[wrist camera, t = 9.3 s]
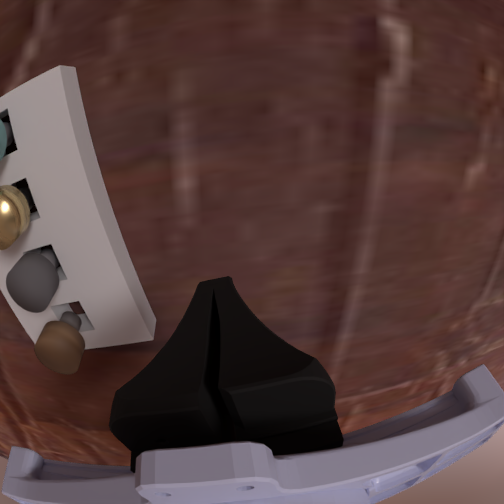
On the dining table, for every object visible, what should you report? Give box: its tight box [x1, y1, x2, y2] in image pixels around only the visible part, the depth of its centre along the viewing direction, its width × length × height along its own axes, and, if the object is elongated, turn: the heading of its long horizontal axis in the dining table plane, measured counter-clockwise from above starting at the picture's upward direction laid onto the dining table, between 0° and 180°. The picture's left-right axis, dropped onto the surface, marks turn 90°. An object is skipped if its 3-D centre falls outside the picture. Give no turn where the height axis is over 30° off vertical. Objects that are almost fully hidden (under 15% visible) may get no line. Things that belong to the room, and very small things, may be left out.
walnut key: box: [34, 311, 85, 374], centre depth 19 cm, size 4×4×4 cm
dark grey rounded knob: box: [6, 249, 59, 313], centre depth 18 cm, size 4×4×4 cm
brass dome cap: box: [0, 185, 34, 250], centre depth 15 cm, size 4×4×4 cm
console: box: [0, 66, 156, 349], centre depth 19 cm, size 21×12×2 cm, turn 9°
